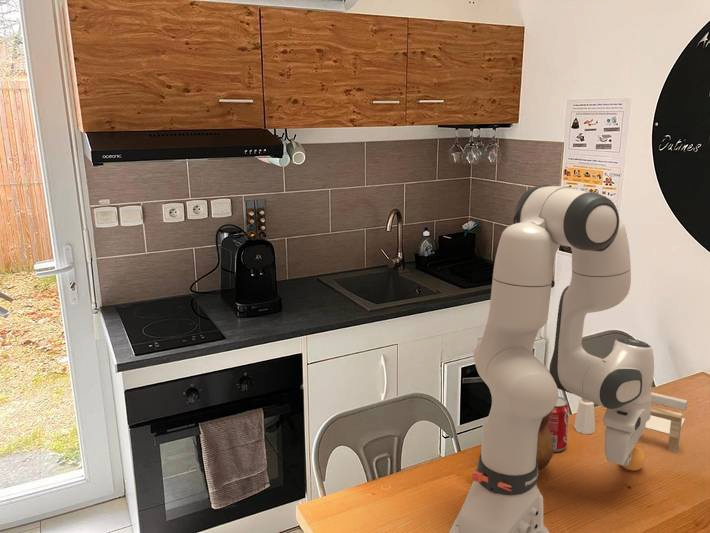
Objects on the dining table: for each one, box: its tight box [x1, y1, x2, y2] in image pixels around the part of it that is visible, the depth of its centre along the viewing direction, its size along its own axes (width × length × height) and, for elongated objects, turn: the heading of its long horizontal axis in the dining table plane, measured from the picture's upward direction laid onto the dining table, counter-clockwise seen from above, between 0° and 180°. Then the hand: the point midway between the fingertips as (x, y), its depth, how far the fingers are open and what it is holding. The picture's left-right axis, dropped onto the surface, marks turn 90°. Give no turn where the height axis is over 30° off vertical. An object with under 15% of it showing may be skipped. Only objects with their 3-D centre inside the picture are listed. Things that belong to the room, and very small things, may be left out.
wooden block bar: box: [651, 391, 688, 411], centre depth 176 cm, size 2×10×2 cm, turn 52°
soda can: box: [548, 395, 570, 453], centre depth 152 cm, size 7×7×13 cm
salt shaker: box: [573, 398, 596, 435], centre depth 161 cm, size 5×5×11 cm
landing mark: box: [645, 415, 686, 435], centre depth 166 cm, size 12×12×1 cm
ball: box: [621, 445, 646, 471], centre depth 142 cm, size 6×6×6 cm
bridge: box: [651, 405, 683, 454], centre depth 154 cm, size 3×15×10 cm, turn 52°
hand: (625, 462), depth 134 cm, fingers closed
